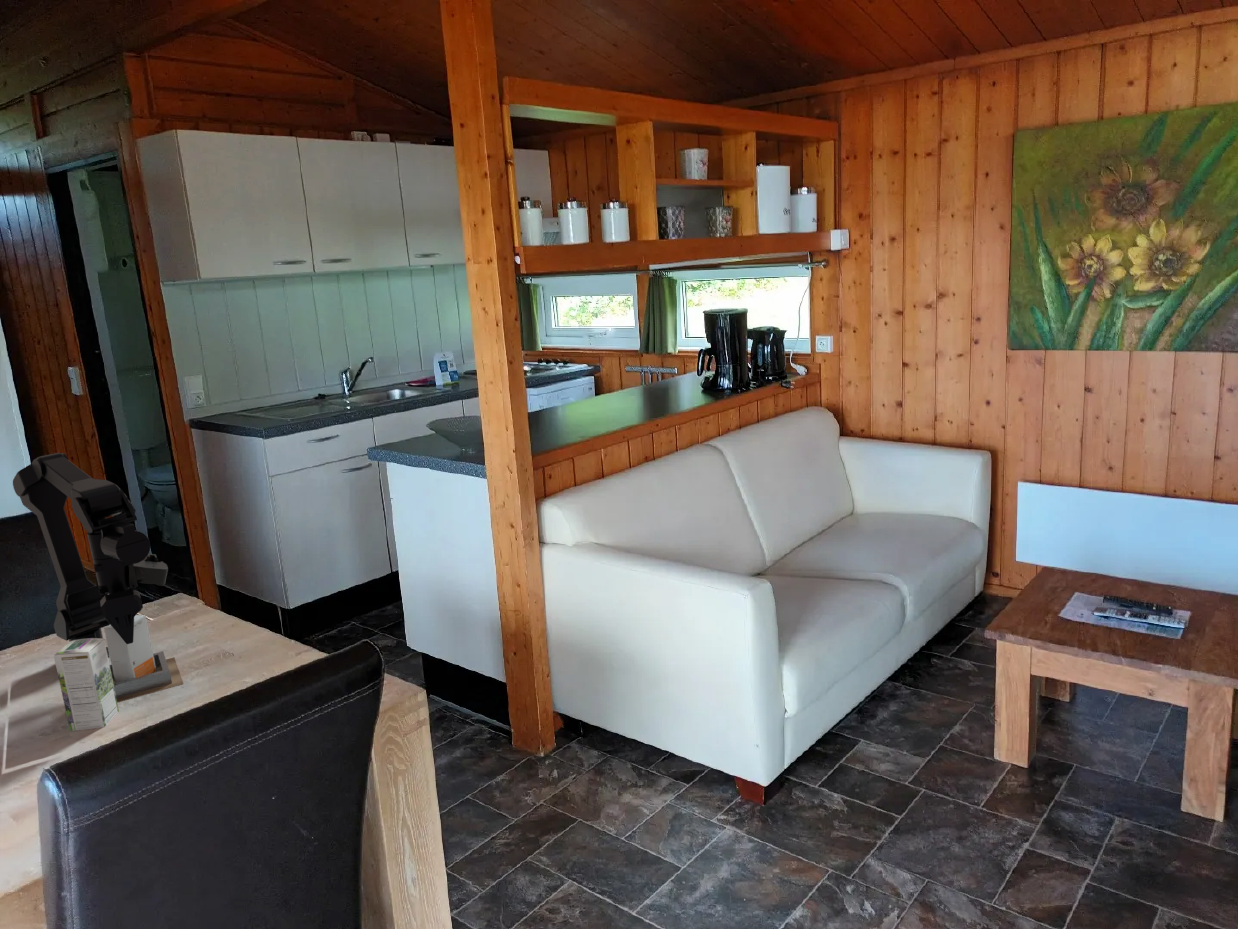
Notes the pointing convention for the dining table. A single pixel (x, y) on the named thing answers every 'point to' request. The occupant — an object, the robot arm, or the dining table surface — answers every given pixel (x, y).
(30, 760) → the dining table surface
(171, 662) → the walnut stand
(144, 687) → the metal collar
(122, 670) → the skincare box
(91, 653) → the syrup box
